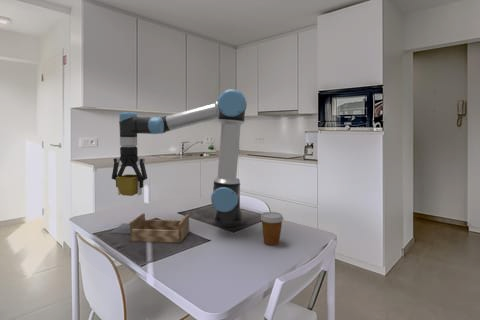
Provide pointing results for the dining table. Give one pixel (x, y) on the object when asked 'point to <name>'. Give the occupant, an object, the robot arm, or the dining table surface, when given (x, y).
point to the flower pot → (128, 184)
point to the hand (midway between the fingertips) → (130, 194)
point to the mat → (122, 229)
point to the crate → (158, 230)
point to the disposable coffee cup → (271, 227)
